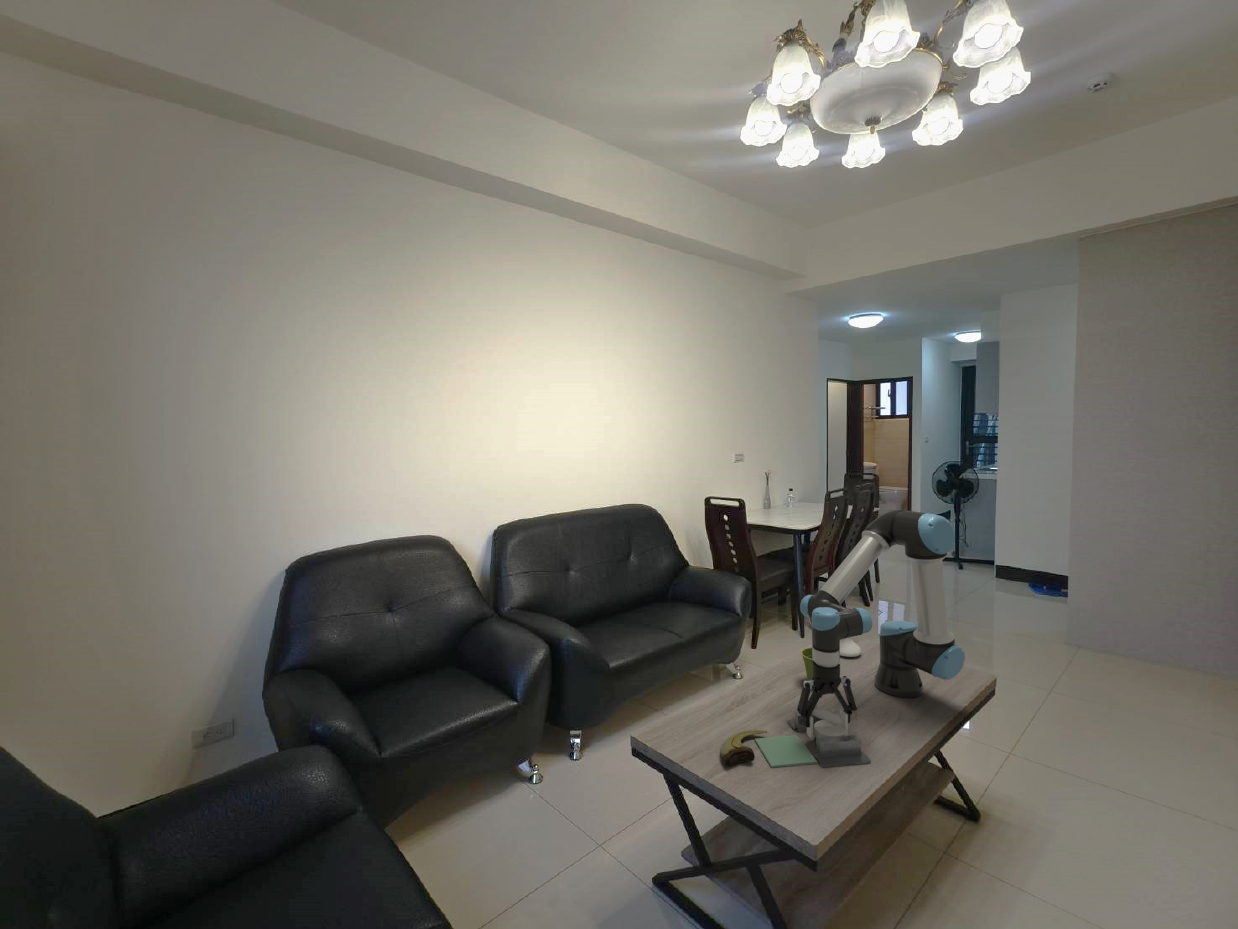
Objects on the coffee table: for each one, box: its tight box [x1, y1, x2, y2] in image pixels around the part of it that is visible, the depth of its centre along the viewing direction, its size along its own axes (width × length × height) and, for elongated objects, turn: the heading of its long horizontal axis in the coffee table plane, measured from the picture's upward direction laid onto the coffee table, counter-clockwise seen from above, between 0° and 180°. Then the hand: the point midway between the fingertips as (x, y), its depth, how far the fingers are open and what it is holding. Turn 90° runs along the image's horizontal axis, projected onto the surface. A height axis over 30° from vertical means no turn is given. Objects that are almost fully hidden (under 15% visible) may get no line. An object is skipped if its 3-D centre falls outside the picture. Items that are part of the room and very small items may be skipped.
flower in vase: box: [840, 604, 863, 658], centre depth 217 cm, size 13×11×25 cm
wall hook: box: [812, 705, 846, 739], centre depth 158 cm, size 9×10×10 cm
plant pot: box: [800, 646, 814, 688], centre depth 193 cm, size 12×12×11 cm
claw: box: [720, 729, 768, 766], centre depth 156 cm, size 20×10×3 cm, turn 152°
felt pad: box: [754, 734, 818, 769], centre depth 154 cm, size 13×13×1 cm
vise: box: [787, 708, 872, 769], centre depth 158 cm, size 14×23×5 cm, turn 6°
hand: (827, 735), depth 159 cm, fingers closed on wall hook, 10 cm apart
